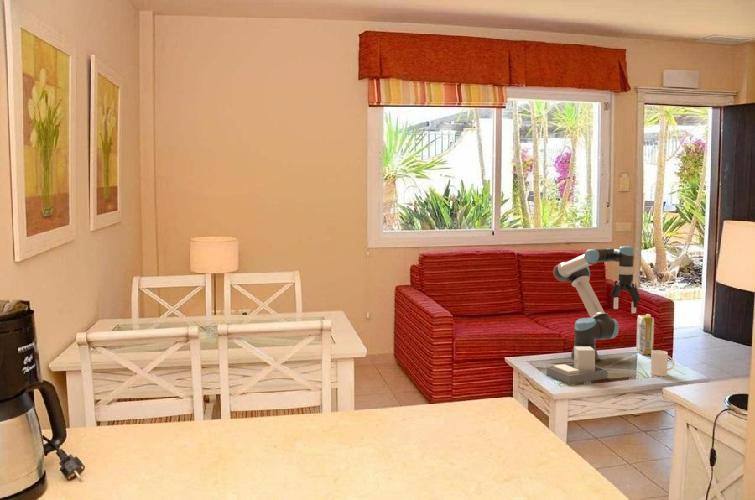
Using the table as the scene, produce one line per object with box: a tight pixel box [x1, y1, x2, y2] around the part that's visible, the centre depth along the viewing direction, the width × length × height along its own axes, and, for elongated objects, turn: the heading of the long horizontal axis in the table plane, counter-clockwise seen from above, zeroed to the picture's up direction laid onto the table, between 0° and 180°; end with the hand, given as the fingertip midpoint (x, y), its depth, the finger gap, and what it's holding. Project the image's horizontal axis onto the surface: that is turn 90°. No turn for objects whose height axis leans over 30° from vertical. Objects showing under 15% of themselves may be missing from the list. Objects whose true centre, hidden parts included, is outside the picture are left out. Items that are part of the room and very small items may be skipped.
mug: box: [649, 349, 675, 377], centre depth 338 cm, size 12×8×12 cm
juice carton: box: [635, 313, 655, 356], centre depth 380 cm, size 9×8×24 cm
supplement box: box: [573, 346, 596, 374], centre depth 335 cm, size 9×9×15 cm
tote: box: [546, 362, 608, 385], centre depth 334 cm, size 18×25×5 cm
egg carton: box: [552, 363, 579, 375], centre depth 331 cm, size 12×7×6 cm, turn 23°
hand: (624, 310), depth 356 cm, fingers open, 13 cm apart
